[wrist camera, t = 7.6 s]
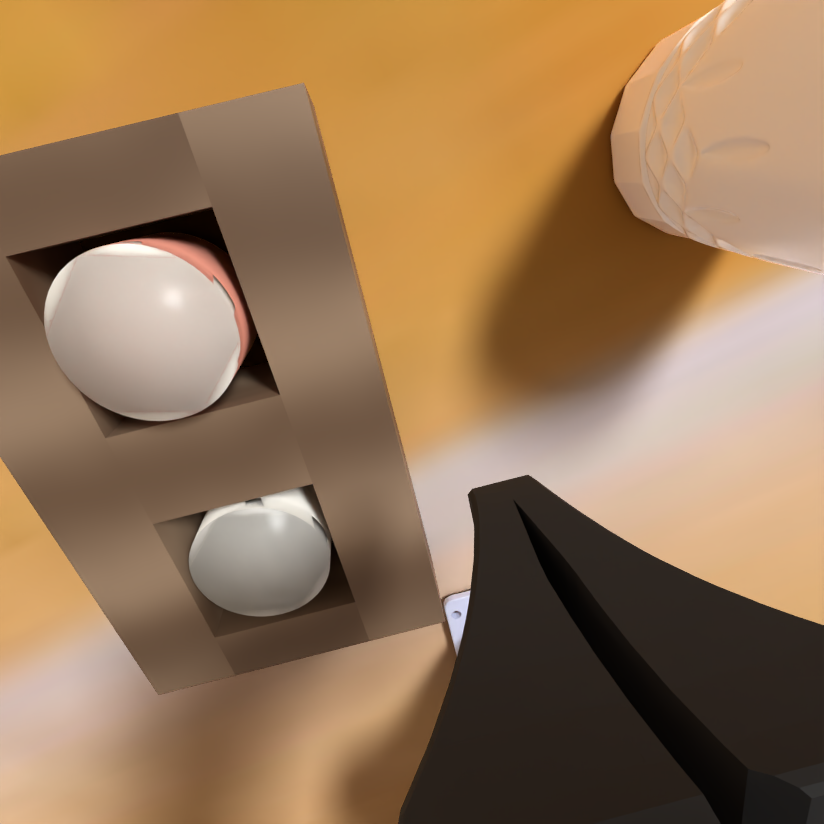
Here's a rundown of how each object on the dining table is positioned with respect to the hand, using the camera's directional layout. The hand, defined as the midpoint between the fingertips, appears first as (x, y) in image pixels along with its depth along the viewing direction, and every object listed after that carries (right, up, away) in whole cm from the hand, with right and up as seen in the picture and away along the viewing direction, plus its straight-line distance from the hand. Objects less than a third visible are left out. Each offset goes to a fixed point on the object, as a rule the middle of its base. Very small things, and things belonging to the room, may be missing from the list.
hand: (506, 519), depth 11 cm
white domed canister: (-8, -2, +11) cm, 13 cm away
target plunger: (-10, +6, +6) cm, 13 cm away
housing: (-9, +2, +9) cm, 13 cm away
